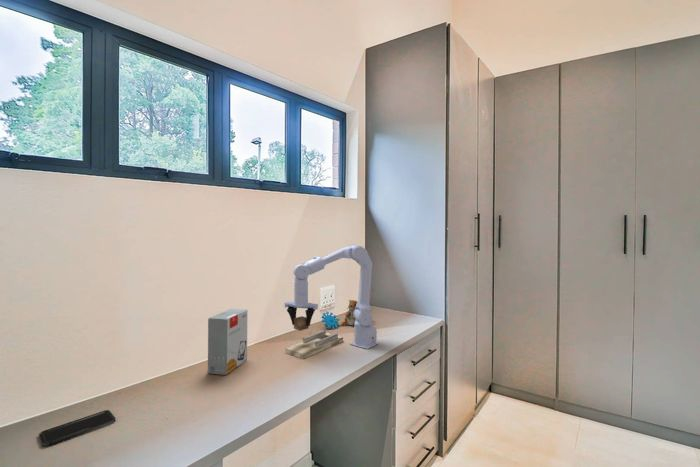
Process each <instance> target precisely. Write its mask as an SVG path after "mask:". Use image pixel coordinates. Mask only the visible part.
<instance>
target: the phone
mask: <svg viewBox="0 0 700 467" xmlns="http://www.w3.org/2000/svg"><path fill="white" fill-rule="evenodd" d="M114 422H115V423H116V422H117V421H116V416H114V414H113V413H112V412H111V411H110V410H108V409H107V410H106V409H105V410H102V411H99V412H96V413H93V414H91V415H90V414H89V415H87V416H84V417H81V418H77V419H75V420H73V421H70V422H69V421H68V422H66V423H63V424H60V425H57V426H53V427H52V428H48V429H45V430H42V431H40V432H39V433H38V438H40V439H39V442H40V443H41V447H42V448H44V447H46V448H50V447H52V446H55V445H57V444H61V443H64V442H65V441H69V440H71V438H72V439H74V437H75V438H77V437H79V436H82V435H86V434H88V433H91V432H93V431H96V430H99V429H102V428H104V427H107V426H111V425H113V424H115V423H114ZM68 439H69V440H68ZM63 441H64V442H63ZM49 446H50V447H49Z"/></svg>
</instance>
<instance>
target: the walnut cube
mask: <svg viewBox="0 0 700 467" xmlns="http://www.w3.org/2000/svg"><path fill="white" fill-rule="evenodd" d="M306 322H307V318H306V316H302V315H301V316H296V318H294V325H293V329H294V330H297V331H299V332H301V331H304V330H307V329H309V326H307V325H306Z"/></svg>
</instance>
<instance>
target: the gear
mask: <svg viewBox="0 0 700 467" xmlns="http://www.w3.org/2000/svg"><path fill="white" fill-rule="evenodd" d="M340 320H341V318H340V317H338V318H337V315H336V314H333V312H332V311H331V312H329V311H326V312H323V313H322V316H321V323H323V325H324V327H327V329H331V330H334V329H338V326H339V325H340V322H339V321H340Z"/></svg>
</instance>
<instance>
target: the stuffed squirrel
mask: <svg viewBox="0 0 700 467" xmlns="http://www.w3.org/2000/svg"><path fill="white" fill-rule="evenodd" d="M348 302H349V303H348V306H347V308H346V309H347V310H348V311H346V313H345V317H344V321H342V322H341V323H340V326H341V325H346V326H350V325H353V326H352V327H354V323H355V321H356V319H355V318H354V316H353V313H354V310H355V308H356V304H357V302H358V300H354V299H352V300H351V299H348Z"/></svg>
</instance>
